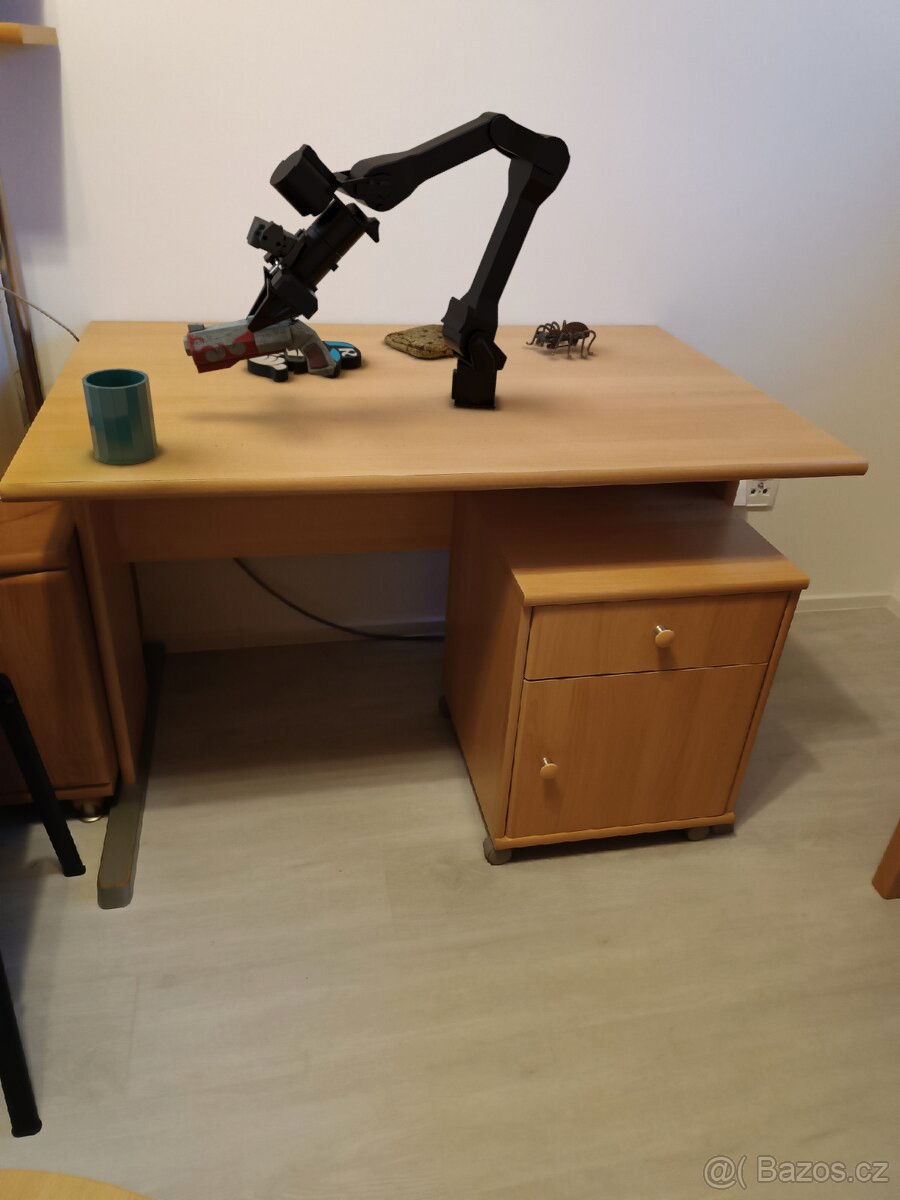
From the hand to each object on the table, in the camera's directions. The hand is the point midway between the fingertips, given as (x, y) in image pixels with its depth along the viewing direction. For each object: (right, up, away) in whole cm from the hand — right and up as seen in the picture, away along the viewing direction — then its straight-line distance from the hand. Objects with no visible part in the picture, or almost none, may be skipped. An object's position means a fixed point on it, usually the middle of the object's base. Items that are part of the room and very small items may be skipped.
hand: (248, 326), depth 121 cm
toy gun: (+1, -6, +4) cm, 7 cm away
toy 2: (+49, +10, +46) cm, 68 cm away
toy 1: (-2, +5, +33) cm, 34 cm away
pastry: (+24, +9, +43) cm, 50 cm away
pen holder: (-14, -19, -7) cm, 24 cm away
